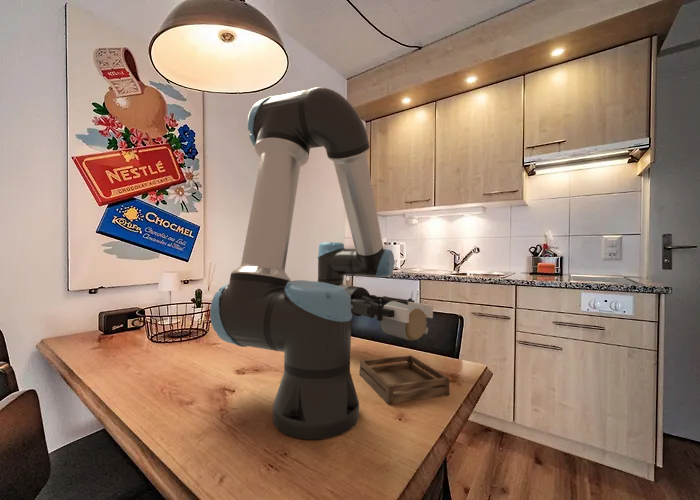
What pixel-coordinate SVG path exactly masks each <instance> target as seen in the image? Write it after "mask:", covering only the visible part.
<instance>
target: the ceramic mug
mask: <svg viewBox="0 0 700 500" xmlns="http://www.w3.org/2000/svg"><path fill="white" fill-rule="evenodd" d="M386 305H389V306H394V307H399V308H405V309H409V323H404V322H400V321H396V320H391V319H387V318H384V316H382V321H379V324H380V328H381V330H382V331H383V332H384V333H385V334H387V335H390V336H393V337H396V338H401V339H404V340H406V341H411V342H412V341H418V340H419V339H420V338H422V337H423V335H426V336H427V334H428V332H429V327H428V326H427V323H428V321H427V317H426V316H425V314H424V312H423V311H422V310H420V309H419V308H417V307H414V306H410V305H406V304H403V303H400V302H396V301H391V302H389V303H387V304H386Z"/></svg>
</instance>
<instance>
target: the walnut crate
mask: <svg viewBox="0 0 700 500" xmlns="http://www.w3.org/2000/svg"><path fill="white" fill-rule="evenodd" d="M402 362H403V363H402ZM393 363H396V364H393ZM376 365H377V366H376ZM359 376H360V377H361V378H362V379H363V380H364V381H365V382H366V383H367V385H369V387H371V388H372V389H373V390H374V392H376V393H377V394H378V395H379V397H380V398H381V399H382V400H383V401H384V402H385V403H386V404H388V405H394V404H395V405H396V404H401V403H407V402H413V401H421V400H426V399H433V398H440V397H445V396H446V397H447V396H450V378H449V377H448V376H446V375H444V374H443V373H441V372H439V371H438V370H436V369H434V368H432V367H431V366H429V364H426V363H424V362H423V361H421V360H419V359H418V358H416V357H414V356H413V355H403V356H393V357H391V356H390V357H382V358H373V359H372V358H371V359H362V360H359Z"/></svg>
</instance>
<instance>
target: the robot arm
mask: <svg viewBox="0 0 700 500" xmlns="http://www.w3.org/2000/svg"><path fill="white" fill-rule="evenodd" d="M248 113H249V114H248V115H247V116H248V117H247V131H249V132H250V133H249V135H248V136H249V139H250V141H251V144H252V145H253V146H254V150H255V153H256V155H258V157H259V164H258V169H257V170H258V171H257V174H256V181H255V187H254V191H253V198H252V201H251V202H252V203H251V209H250V214H249V219H248V225H247V230H246V236H245V242H244V247H243V251H242V256H241V264H240V265H239V266H238V267H237V268H235V269H234V270H233V271H231V273H230V277H229V283H227V284H225V285H223V286H221V287H220V288H219V289H218V291H217V292H215V294H214V295H213V298H212V300H211V302H210V303H211V304H210V311H209V314H210V315H209V316H210V322H211V326H212V328H213V331H215V333H216V335H217V336H218V338H219V339H221V340H222V341H223V342H226V343H229V344H233V345H236V346H238V347H242V348H243V347H244V348H247V347H250V348H257V349H263V350H268V351H275V352H281V353H283V354H284V362H283V363H284V365H283V366H284V367H283V368H284V369H283V375H282V378H281V380H280V384H279V387H278V390H277V393H276V396H275V398H274V400H273V401H274V402H273V406H272V422H273V425H274V427H275V428H276V429H277V430H278V431H279V432H281V433H283V434H285V435H287V436H290V437H292V438H295V439H296V438H297V439H303V440H323V439H330V438H333V437H334V438H335V437H337V436H341V435H343V434H345V433H346V432H348V431H350V430H351V429H353V428H354V427H355V426H356V425H357V423H358V421H359V419H360V401H359V398H358V394H357V391H356V386H355V383H354V380H353V377H352V374H351V348H352V347H351V345H352V342H351V339H352V318H353V316H354V317H362V316H364V317H367V318H370V319H373V318H375V317H376V321H379V322H380V321H382V316H384V318H387V319H391V320H396V321H400V322H404V323H409V309H405V308H399V307H394V306H389V305H386V304H387V303H389V302H391V301H396V302H400V303H403V304H406V305H410V306H414V307H417V308H419V309H420V310H422V311H423V312H424V314H425V316H426V319H427V318H428V319H433V318H434V305H432V304H425V303H421V302H415V300H414V299H412V298H411V297H410V298H408V299H403V298H397V297H389V296H387V295H383V296H378V295H375V294H370V293H369V292H370V291H368V290H367V289H366V288H364V287H361V286H354V285H348V284H344V277H345V276H356V277H357V276H358V277H359V276H360V277H375V278H377V277H378V278H384V277H390V276H391V275H392V274H393V272H394V270H395V269H394V268H395V256H394V252H393V250H392V249H388V248H384V244H383V237H382V234H381V228H380V223H379V222H380V221H379V216H378V212H377V206H376V205H377V204H376V200H375V195H374V189H373V184H372V183H373V182H372V178H371V173H370V169H369V161H368V156H367V153H368V152H369V150H370V149H371V148H370V142H369V141H370V140H369V136H368V133H367V129H366V127H365V124H364V121H363V120H362V118H361V116H360V114H359V113H358V111H357V110H356V108H355V107H354V106H353V105H352V104H351V103H350V101H348V99H346V98H345V97H344V96H343V95H341V94H340V93H338V92H337V91H335V90H333V89H330V88H328V87H312V88H310V89H304V90H300V91H295V92H290V93H284V94H278V95H270V96H267V97H266V98H263V99H260V100H258V101H257V102H255V103H254V104H253V105H252V107H251V109H250V110H249V112H248ZM320 147H323V148H324V149H325V152H326V155H327V159H329V160H331V161H332V162H333V164H334V168H335V169H334V170H335V173H336V176H337V182H338V185H339V189H340V194H341V197H342V200H343V205H344V209H345V212H346V213H345V214H346V217H347V220H348V226H349V229H350V233H351V237H352V242H353V246H354V248H345V244H344V243H343V242H338V241H337V242H336V241H335V242H333V241H325V242H321V243H320V244H318V256H317V281H315V280H311V281H310V280H300V279H295V280H291V278H290V277H289V276H288V274H287V273H286V271H285V270H286V263H287V257H288V250H289V245H290V237H291V230H292V225H293V218H294V211H295V205H296V197H297V196H296V195H297V190H298V184H299V177H300V171H301V167H303V166H304V165H306V164H307V163H308V161H309V156H310V152H311V151H310V150H311V149H314V148H320Z"/></svg>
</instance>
